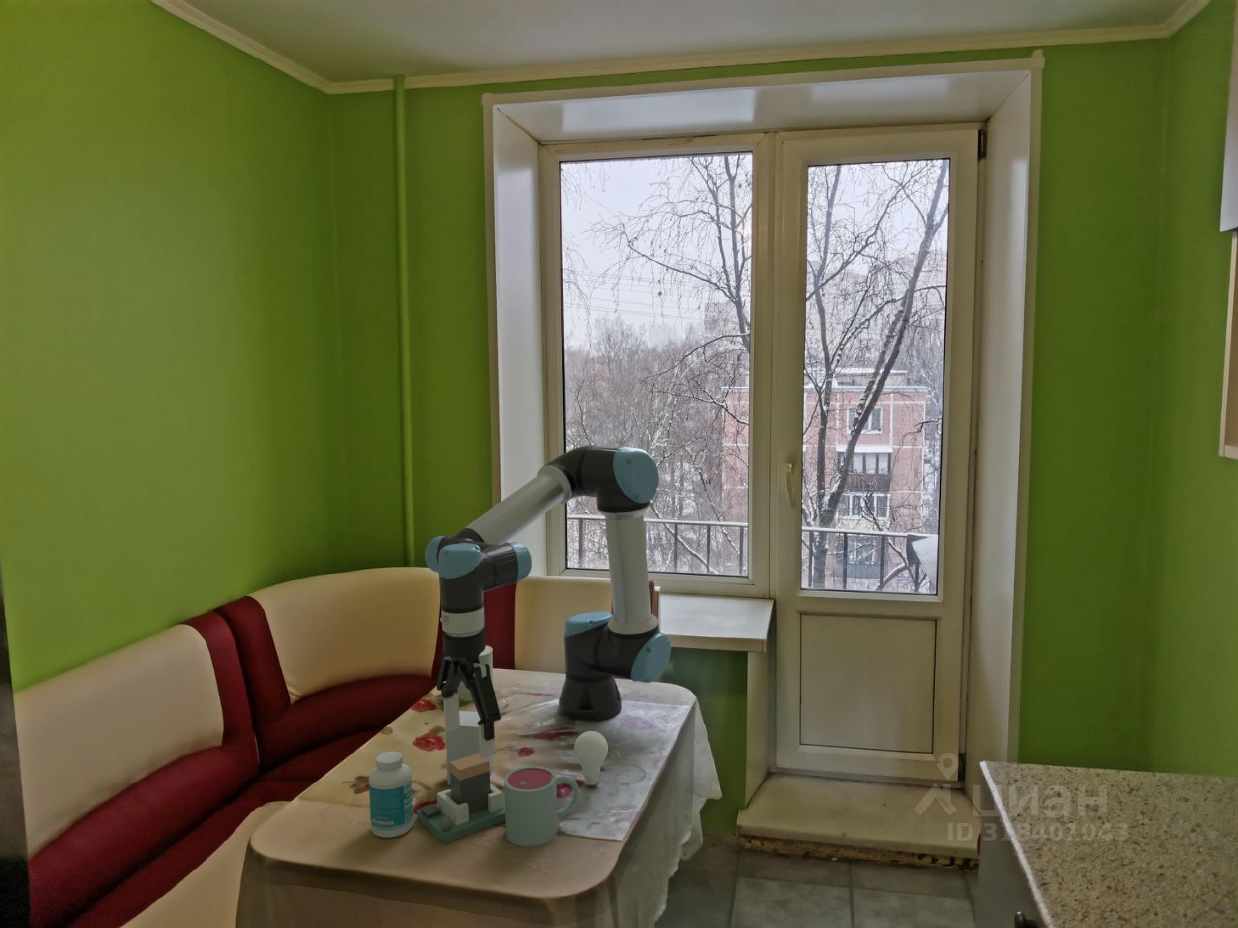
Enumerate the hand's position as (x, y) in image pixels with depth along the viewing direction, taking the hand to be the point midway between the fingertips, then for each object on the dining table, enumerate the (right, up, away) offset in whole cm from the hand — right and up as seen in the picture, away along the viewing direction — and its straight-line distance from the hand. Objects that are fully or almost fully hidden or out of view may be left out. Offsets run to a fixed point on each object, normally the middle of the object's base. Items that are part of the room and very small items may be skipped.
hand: (469, 742), depth 157 cm
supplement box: (-2, -13, +16) cm, 20 cm away
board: (-1, -14, +1) cm, 14 cm away
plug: (0, -13, +1) cm, 13 cm away
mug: (+14, -15, -3) cm, 20 cm away
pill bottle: (-13, -15, -3) cm, 20 cm away
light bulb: (+22, -13, +12) cm, 28 cm away
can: (-9, -8, +60) cm, 61 cm away
